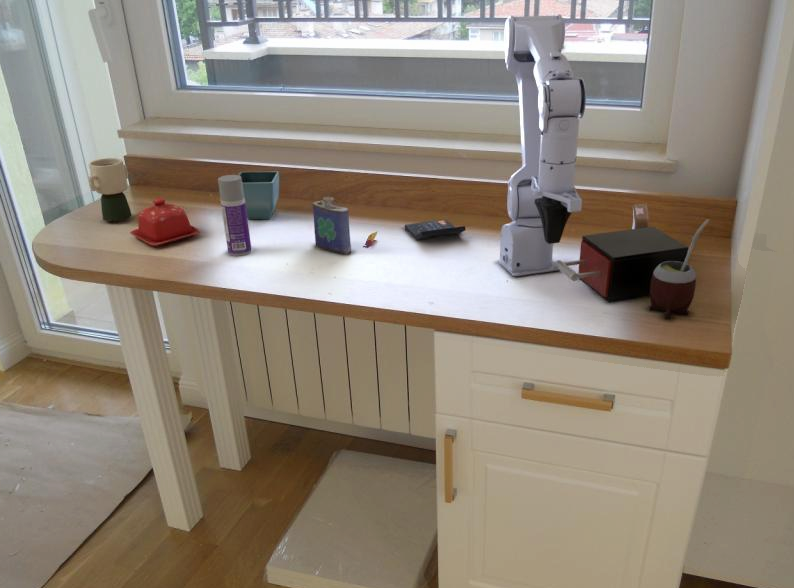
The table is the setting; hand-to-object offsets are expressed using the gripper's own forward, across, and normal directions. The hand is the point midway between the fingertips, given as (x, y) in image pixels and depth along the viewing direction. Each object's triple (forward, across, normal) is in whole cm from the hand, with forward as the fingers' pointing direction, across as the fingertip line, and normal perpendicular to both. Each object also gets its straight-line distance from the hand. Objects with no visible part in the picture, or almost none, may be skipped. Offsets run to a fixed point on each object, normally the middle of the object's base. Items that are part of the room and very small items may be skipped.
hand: (552, 241), depth 134 cm
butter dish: (+10, -56, -62) cm, 84 cm away
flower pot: (+10, -63, -41) cm, 76 cm away
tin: (+10, -15, +26) cm, 32 cm away
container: (+10, -42, -48) cm, 65 cm away
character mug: (+10, -72, -72) cm, 102 cm away
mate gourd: (+11, +11, +17) cm, 23 cm away
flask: (+10, -37, -30) cm, 49 cm away
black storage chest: (+10, -1, +16) cm, 19 cm away
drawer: (+10, -1, +12) cm, 16 cm away
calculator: (+10, -38, -8) cm, 40 cm away
